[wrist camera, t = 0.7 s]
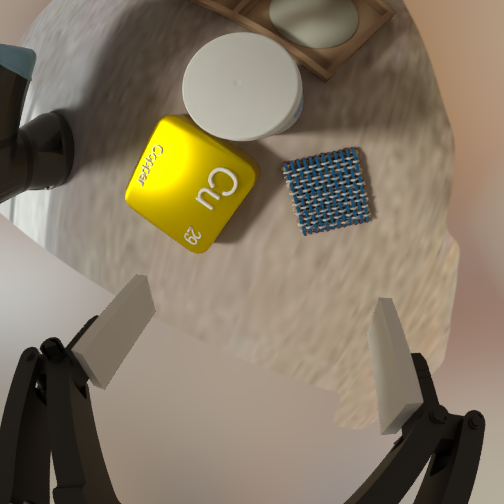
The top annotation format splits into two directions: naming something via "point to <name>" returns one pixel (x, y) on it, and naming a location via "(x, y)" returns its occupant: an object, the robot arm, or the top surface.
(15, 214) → the top surface
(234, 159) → the element tile
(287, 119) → the supplement tub
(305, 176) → the woven mat
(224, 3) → the crate
